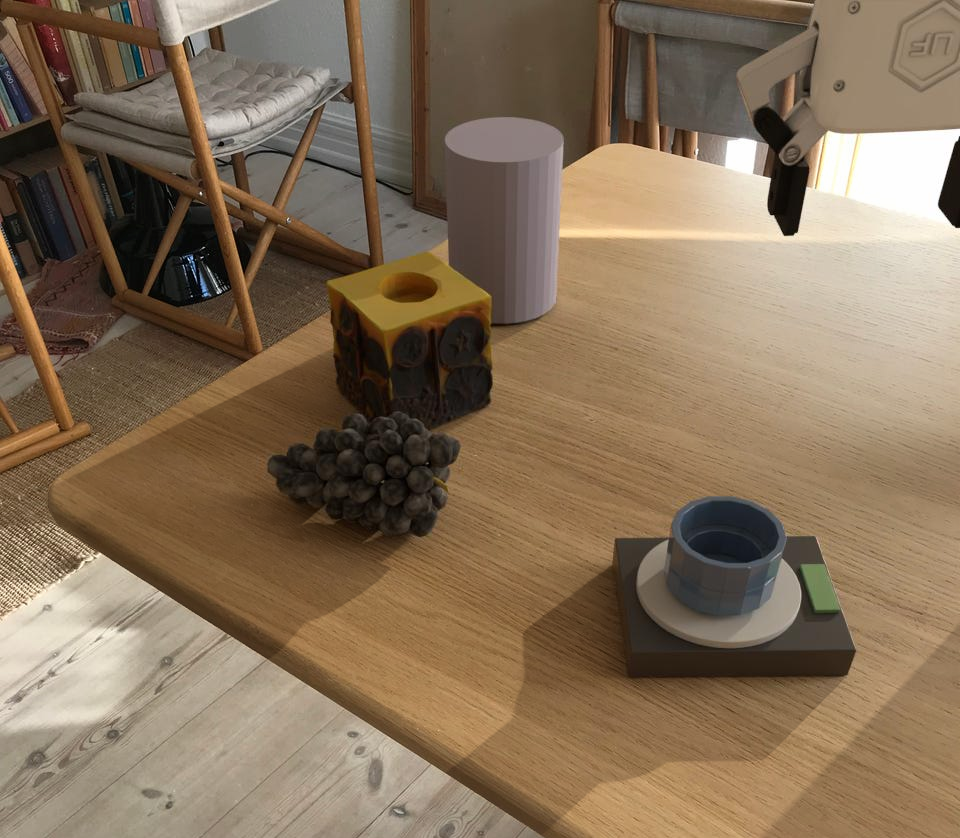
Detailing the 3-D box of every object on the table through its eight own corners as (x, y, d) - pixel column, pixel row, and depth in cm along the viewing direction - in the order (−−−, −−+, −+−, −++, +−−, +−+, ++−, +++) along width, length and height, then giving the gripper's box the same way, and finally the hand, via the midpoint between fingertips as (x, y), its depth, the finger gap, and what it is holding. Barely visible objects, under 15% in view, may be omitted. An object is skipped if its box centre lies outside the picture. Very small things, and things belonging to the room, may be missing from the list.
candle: (391, 446, 84) (382, 334, 77) (333, 389, 90) (319, 280, 83) (495, 406, 88) (496, 296, 81) (433, 355, 94) (428, 247, 87)
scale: (809, 561, 74) (818, 528, 72) (847, 676, 66) (859, 643, 64) (612, 563, 74) (615, 530, 72) (628, 678, 66) (632, 645, 64)
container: (501, 265, 106) (501, 108, 95) (578, 299, 101) (588, 137, 90) (427, 301, 101) (420, 140, 90) (505, 338, 96) (506, 172, 85)
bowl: (760, 548, 70) (773, 495, 67) (782, 620, 65) (797, 567, 62) (657, 549, 70) (665, 496, 67) (671, 622, 65) (680, 568, 62)
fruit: (237, 405, 72) (440, 440, 68) (293, 380, 79) (480, 410, 75) (241, 522, 76) (434, 561, 72) (294, 489, 83) (472, 522, 79)
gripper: (784, -116, 45) (730, 259, 58) (1183, -136, 45) (1043, 244, 58) (749, -149, 51) (707, 201, 63) (1106, -167, 50) (993, 188, 63)
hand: (867, 221), depth 60 cm, fingers open, 9 cm apart
